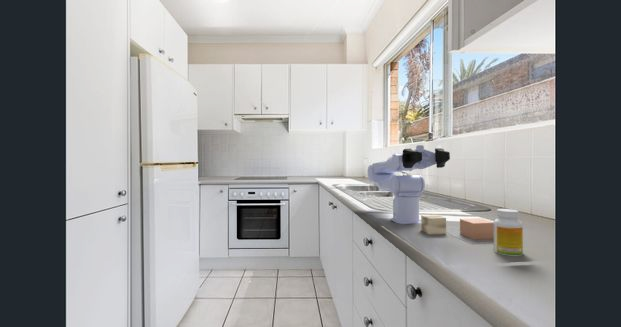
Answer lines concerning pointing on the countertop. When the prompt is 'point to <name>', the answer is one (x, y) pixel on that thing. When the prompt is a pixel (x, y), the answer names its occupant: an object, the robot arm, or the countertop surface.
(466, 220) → the base block
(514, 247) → the supplement bottle
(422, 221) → the birch block
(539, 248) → the countertop surface
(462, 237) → the baseplate
